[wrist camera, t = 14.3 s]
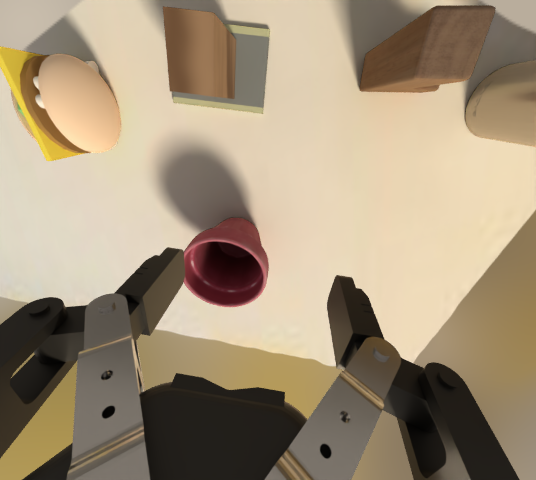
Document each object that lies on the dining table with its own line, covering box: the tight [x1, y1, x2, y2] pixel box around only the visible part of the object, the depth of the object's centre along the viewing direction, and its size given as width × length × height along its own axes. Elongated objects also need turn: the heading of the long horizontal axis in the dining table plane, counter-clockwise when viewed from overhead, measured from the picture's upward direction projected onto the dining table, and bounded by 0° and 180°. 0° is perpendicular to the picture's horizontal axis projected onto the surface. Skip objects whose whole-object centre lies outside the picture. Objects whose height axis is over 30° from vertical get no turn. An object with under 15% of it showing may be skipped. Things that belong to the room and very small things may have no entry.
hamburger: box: [0, 47, 121, 161], centre depth 33 cm, size 12×8×12 cm
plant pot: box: [184, 218, 269, 307], centre depth 43 cm, size 14×14×13 cm
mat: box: [173, 24, 270, 114], centre depth 34 cm, size 14×10×1 cm
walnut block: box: [163, 7, 236, 99], centre depth 29 cm, size 5×7×11 cm
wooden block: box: [360, 6, 495, 93], centre depth 25 cm, size 9×4×18 cm, turn 89°
